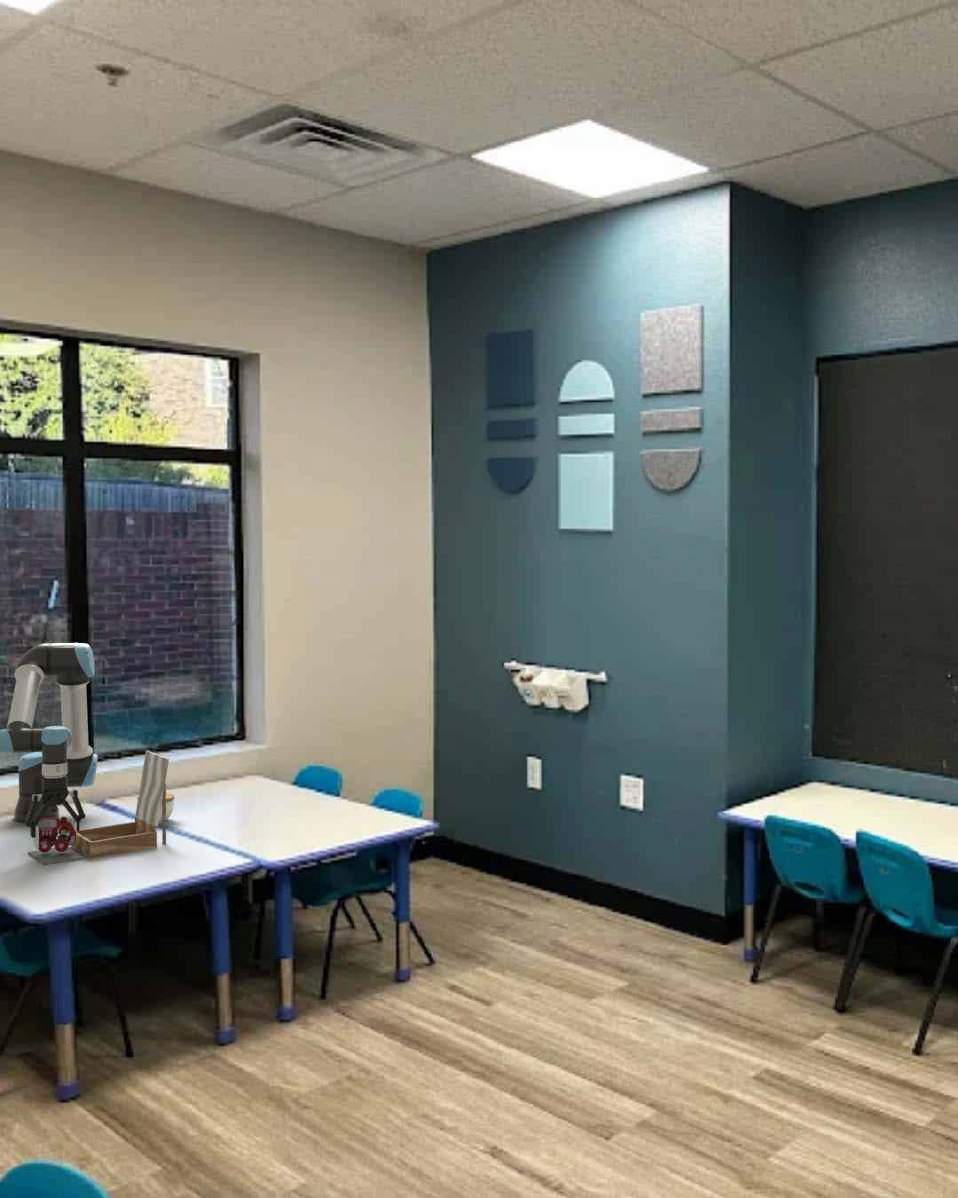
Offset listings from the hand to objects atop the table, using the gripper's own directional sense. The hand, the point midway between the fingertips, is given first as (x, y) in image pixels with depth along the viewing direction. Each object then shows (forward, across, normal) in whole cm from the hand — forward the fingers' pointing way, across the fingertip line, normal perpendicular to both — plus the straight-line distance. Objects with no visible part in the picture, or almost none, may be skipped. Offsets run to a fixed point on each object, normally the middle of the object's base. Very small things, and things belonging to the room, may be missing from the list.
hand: (55, 844), depth 365 cm
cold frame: (+4, +21, 0) cm, 21 cm away
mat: (+4, 0, 0) cm, 4 cm away
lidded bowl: (+4, +43, +23) cm, 49 cm away
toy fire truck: (+2, 0, 0) cm, 2 cm away
